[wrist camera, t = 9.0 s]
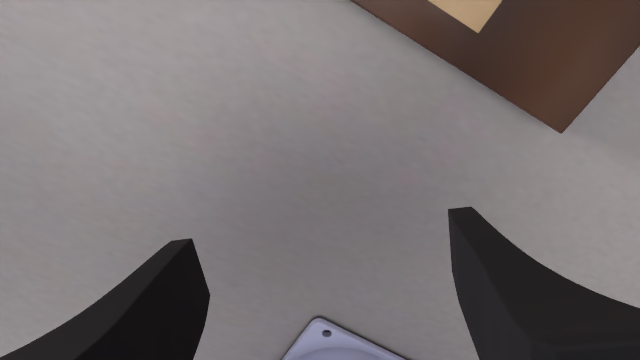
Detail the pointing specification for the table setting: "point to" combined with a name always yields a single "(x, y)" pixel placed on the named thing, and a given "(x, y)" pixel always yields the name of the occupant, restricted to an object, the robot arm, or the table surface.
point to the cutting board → (525, 45)
